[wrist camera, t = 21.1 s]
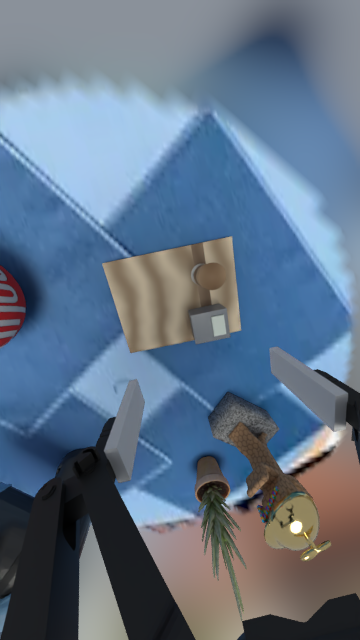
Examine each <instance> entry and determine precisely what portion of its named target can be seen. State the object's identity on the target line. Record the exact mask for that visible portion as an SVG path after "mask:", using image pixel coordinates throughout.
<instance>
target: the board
mask: <svg viewBox="0 0 360 640" xmlns="http://www.w3.org/2000/svg"><path fill="white" fill-rule="evenodd" d="M208 263H218V264H220V265H222V266H223V267H224V269H225V271H226V280H225V282H224V284H223V285H222V286H221V287H220V288H219V289H216V290H208V289H206V288H204V287H202V286H200V285H198V284H197V283H196V282H195V280H194V277H193V274H194V271H195V270H196V268H197V267H198V266H200V265H203V264H208ZM102 264H103V267H104V271H105V274H106V277H107V280H108V283H109V286H110V290H111V293H112V296H113V299H114V302H115V305H116V309H117V312H118V315H119V318H120V321H121V325H122V328H123V331H124V334H125V337H126V340H127V344H128V347H129V350H130V353H133V352H138V351H143V350H148V349H153V348H158V347H163V346H168V345H173V344H177V343H182V342H187V341H192V340H194V337H193V333H192V328H191V323H190V318H189V313H188V310H191V309H195V308H200V307H205V306H209V305H214V304H219V303H220V304H221V305H223V306H224V307H226V308H227V315H228V323H229V330H230V333H231V332H236V331H241V324H240V314H239V304H238V294H237V284H236V274H235V264H234V254H233V244H232V236H231V237H227V238H222V239H217V240H212V241H207V242H203V243H198V244H193V245H188V246H183V247H179V248H174V249H169V250H164V251H159V252H155V253H150V254H145V255H140V256H135V257H131V258H126V259H121V260H116V261H112V262H107V263H102Z"/></svg>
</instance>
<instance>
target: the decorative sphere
mask: <svg viewBox="0 0 360 640" xmlns="http://www.w3.org/2000/svg"><path fill="white" fill-rule="evenodd" d="M25 310H26V301H25V297H24V294H23V292H22V289H21V287H20V286H19V284H18V283H17V281H16V280H15V279H14V277H13V276H12V275H11V274H10V273H9V272H8V271H7V270H6V269H5V268H3V267H2V266H1V265H0V348H2V347H3V346H4V345H6V344H7V343H8V342H9V341H10V340H11V339H12V338H13V337H15V336H16V334H17V333H18V331H19V330H20V328H21V326H22V324H23V322H24V319H25V315H26V313H25Z"/></svg>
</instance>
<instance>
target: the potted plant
mask: <svg viewBox="0 0 360 640" xmlns="http://www.w3.org/2000/svg"><path fill="white" fill-rule="evenodd" d="M229 493H230V486H229V484H228V481H227V479H226V478H225V477H224V476H223V474H222V472H221V470H220V468H219V466H218V463H217V461H216V460H215V458H213V457H210V456H208V457H203V458H201V459H200V460H199V461H198V465H197V480H196V484H195V496H196V498H197V500H198V501H199V502H201V504H200V506H199V508H200V509H199V511H198V512H200V510H201V509H202V508H203V507H204V506H205V505H206V504H207V505H206V509H205V511H204V518H203V522H202V526H201V528H202V527H203V526H204V528H203V536H202V538H204V533H205V529H206V525H207V521H208V527H207V532H206V540H205V549H204V553H206V548H207V543H208V540H209V537H210V535H211V544H212V564H213V574H214V578H215V567H216V574H217V579H218V572H219V571H218V570H219V543H220V545H221V550H222V554H223V558H224V562H225V559H226V562H225V566H226V563H227V566H228V570H229V574H230V578H231V582H232V586H233V590H234V593H235V597H236V601H237V605H238V609H239V613H240V617H241V620H242V616H241V610H240V606H241V608H242V611H243V613H244V610H243V605H242V601H241V596H240V592H239V588H238V585H237V581H236V577H235V573H234V570H233V566H232V563H231V560H230V556H229V553H228V550H227V547H228V549H229V551H230V553H231V556H232V558H233V559H234V557H233V554H232V550H231V547H230V545H231V546H232V548H233V549H234V551H235V553H236V554H237V556H238V557H239V559H240V560H241V562H242V563H243V565H244V566H245V568H246V565H245V563H244V561H243V558H242V557H241V555H240V553H239V551H238V549H237V548H236V546H235V544H234V542H233V540H232V538H231V537H230V535H229V534H228V532H227V530H226V528H227V529H228V530H229V531H230V533H231V534H232V535H233V537H234V538H235V539H236V537H235V535H234V533H233V531H232V529H231V528H230V526H231V527H232V528H233V526H232V524H231V523H230V522H229V520H228V519H227V518H226V516H225V515H224V513H225V514H226V515H227V517H228V518H229V519H230V520H231V521H232V523H233V524H234V525H235V526H236V527H237V528H238V529H239V530H240V528H239V526H238V525H237V524H236V522H235V521H234V520H233V519H232V517H231V516H230V515H229V514H228V513H227V511H226V510H225V509H224V508H223V506H222V505H221V504H223V505H224V506H225V507H227V508H228V509H229V510H231V509H230V508H229V507H228V506H227V505H226V503H224V502H225V501H226V500H225V498H227V497H228V495H229ZM224 500H225V501H224ZM223 501H224V502H223ZM223 512H224V513H223ZM208 518H209V519H208ZM228 524H229V525H230V526H229V525H228ZM224 526H225V527H226V528H225V527H224ZM233 529H234V528H233ZM240 531H241V530H240ZM202 541H203V539H202ZM229 543H230V544H229ZM226 545H227V547H226ZM224 555H225V556H224ZM238 599H239V601H238ZM239 603H240V604H239Z"/></svg>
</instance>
